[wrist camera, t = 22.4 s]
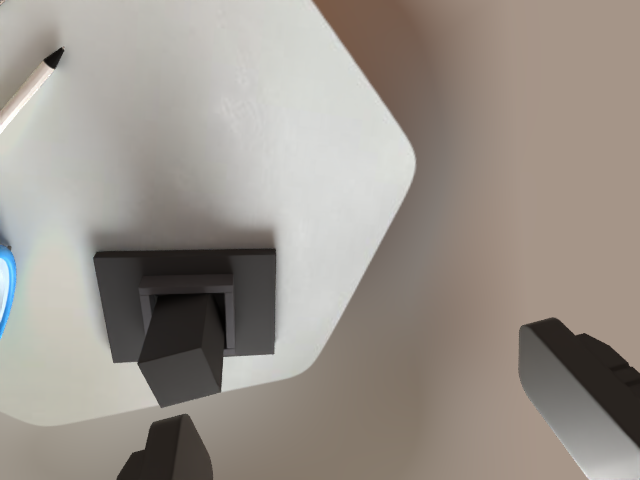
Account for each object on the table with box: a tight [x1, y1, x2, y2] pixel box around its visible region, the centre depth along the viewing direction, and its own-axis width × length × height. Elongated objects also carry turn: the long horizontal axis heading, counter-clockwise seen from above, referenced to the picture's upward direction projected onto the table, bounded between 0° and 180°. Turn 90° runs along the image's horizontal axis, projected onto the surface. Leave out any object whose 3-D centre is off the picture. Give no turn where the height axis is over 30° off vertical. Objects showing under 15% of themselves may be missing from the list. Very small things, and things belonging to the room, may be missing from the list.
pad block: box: [137, 293, 225, 408], centre depth 39 cm, size 5×5×9 cm
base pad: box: [93, 249, 276, 363], centre depth 42 cm, size 16×12×3 cm
